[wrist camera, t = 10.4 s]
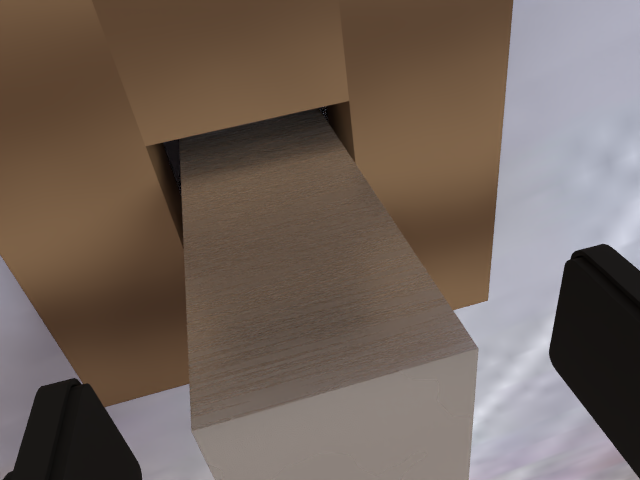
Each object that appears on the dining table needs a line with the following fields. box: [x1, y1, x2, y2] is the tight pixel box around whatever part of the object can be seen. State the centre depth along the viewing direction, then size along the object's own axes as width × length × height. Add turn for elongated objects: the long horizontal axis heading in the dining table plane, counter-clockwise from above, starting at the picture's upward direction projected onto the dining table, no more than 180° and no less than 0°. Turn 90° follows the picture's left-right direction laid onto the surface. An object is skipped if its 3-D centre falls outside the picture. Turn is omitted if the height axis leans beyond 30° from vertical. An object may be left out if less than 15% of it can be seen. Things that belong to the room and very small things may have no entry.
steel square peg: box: [179, 108, 478, 480], centre depth 12 cm, size 4×4×11 cm
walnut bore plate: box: [0, 0, 513, 407], centre depth 13 cm, size 20×14×3 cm
